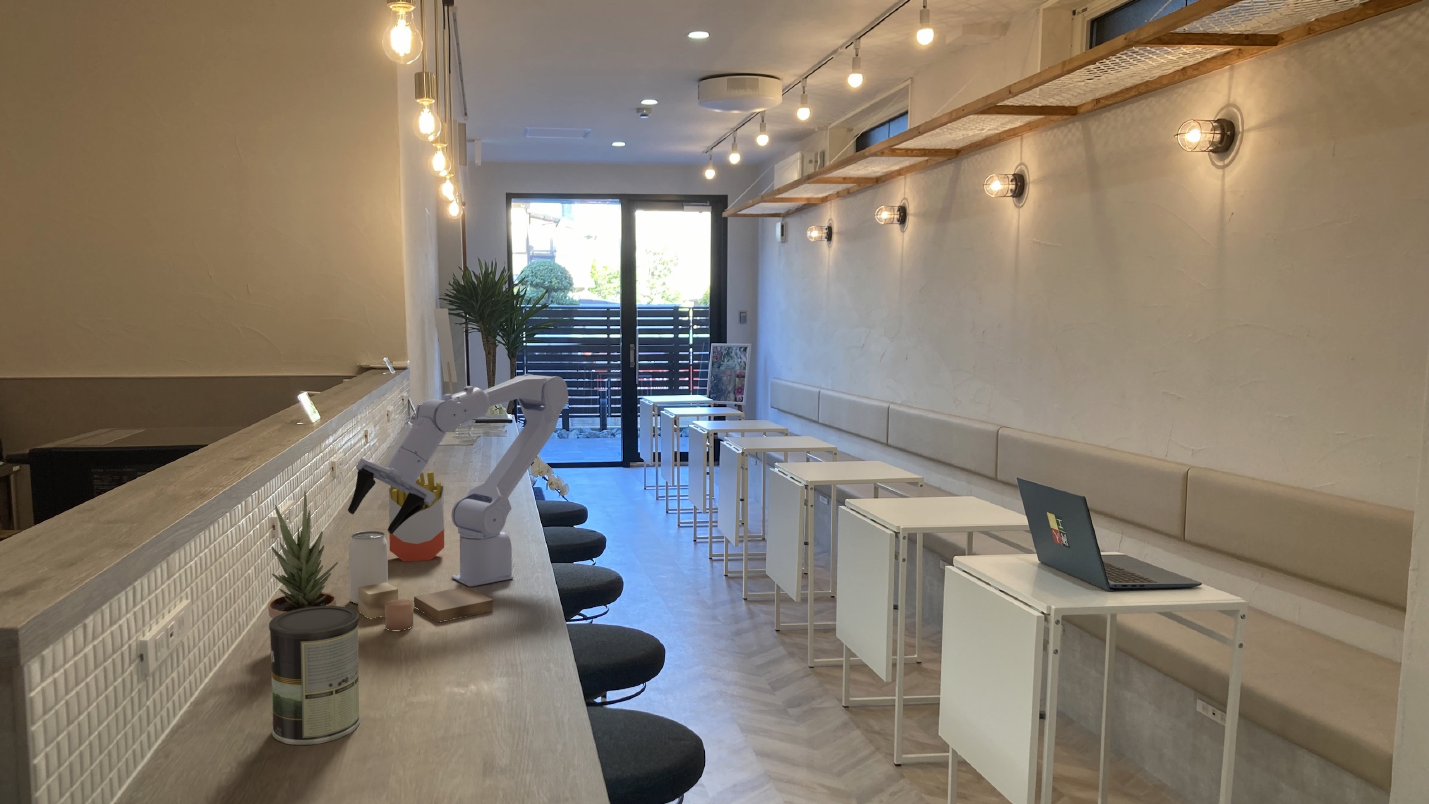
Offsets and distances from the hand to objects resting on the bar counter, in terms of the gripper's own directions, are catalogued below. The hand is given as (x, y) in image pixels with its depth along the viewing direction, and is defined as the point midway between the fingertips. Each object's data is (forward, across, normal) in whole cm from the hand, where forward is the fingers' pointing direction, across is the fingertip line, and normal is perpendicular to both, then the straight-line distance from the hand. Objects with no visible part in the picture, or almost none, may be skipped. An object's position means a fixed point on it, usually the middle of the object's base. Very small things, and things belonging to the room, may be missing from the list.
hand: (369, 522), depth 164 cm
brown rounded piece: (+14, +14, -2) cm, 20 cm away
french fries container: (-4, +3, +36) cm, 37 cm away
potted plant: (+23, +4, -9) cm, 25 cm away
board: (+6, +20, +4) cm, 21 cm away
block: (+12, +9, +4) cm, 16 cm away
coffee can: (+32, +18, -36) cm, 51 cm away
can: (+11, +5, +11) cm, 16 cm away
